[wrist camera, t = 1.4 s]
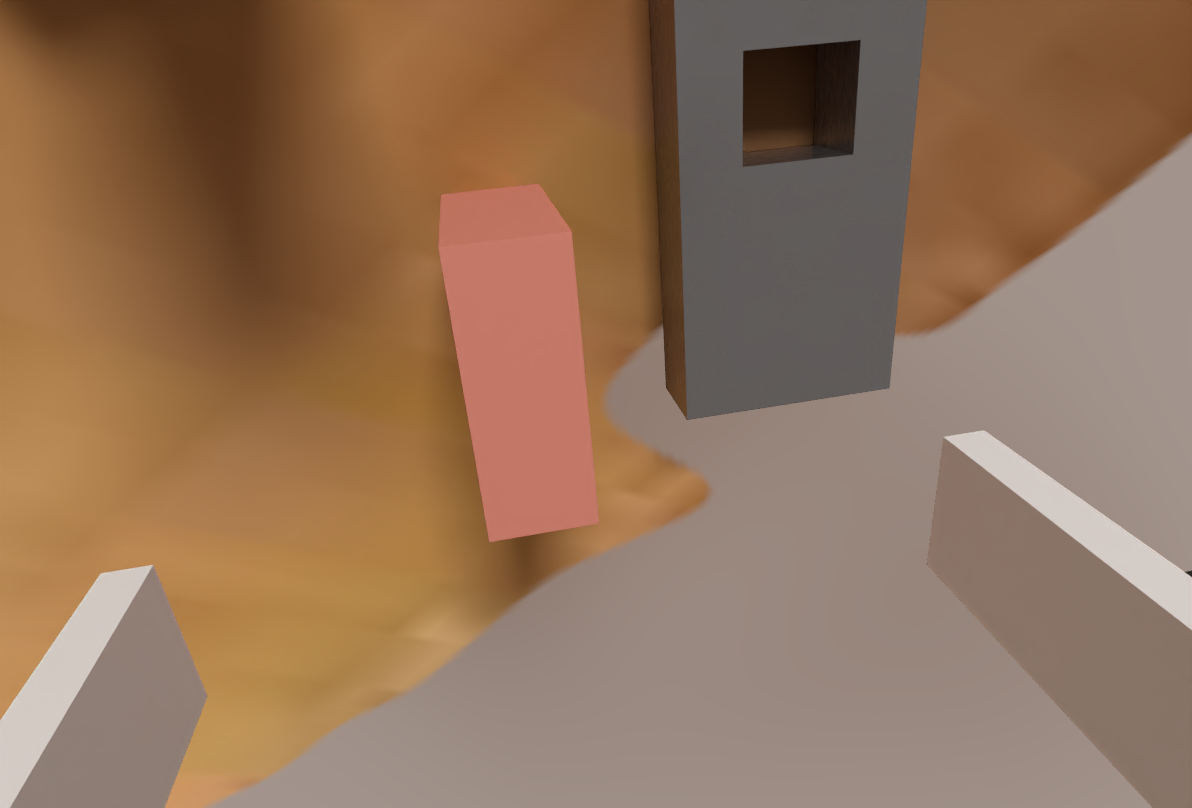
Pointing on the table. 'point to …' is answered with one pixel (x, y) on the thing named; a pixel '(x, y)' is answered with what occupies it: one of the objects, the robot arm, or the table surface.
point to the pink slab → (520, 358)
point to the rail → (782, 202)
